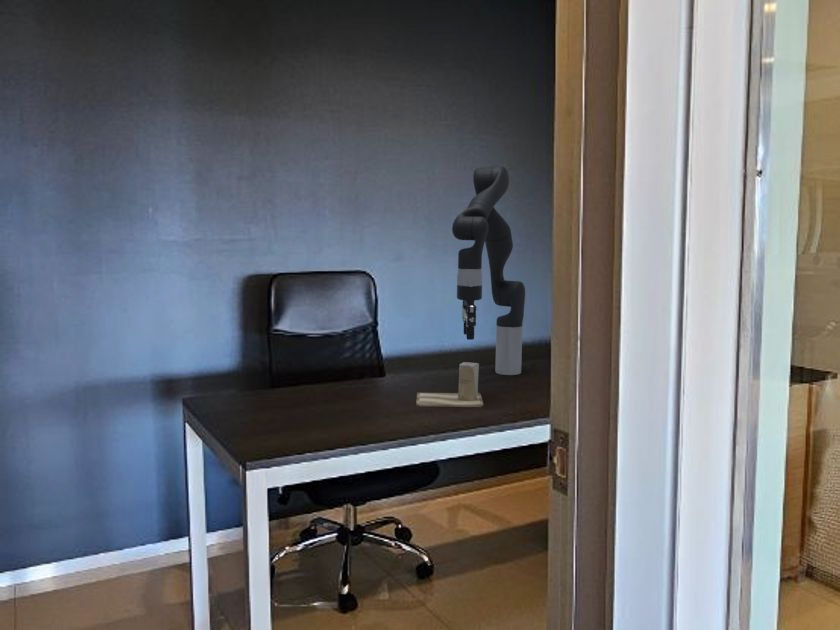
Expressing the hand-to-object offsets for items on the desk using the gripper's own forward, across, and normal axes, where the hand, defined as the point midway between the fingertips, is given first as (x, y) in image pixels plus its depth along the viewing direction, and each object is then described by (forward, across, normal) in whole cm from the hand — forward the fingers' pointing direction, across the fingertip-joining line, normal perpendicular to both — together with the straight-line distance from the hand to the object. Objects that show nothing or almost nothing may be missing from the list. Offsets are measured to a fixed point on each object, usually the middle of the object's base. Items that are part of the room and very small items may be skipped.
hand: (468, 336), depth 223 cm
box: (+20, 0, 0) cm, 20 cm away
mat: (+20, 0, -6) cm, 21 cm away
